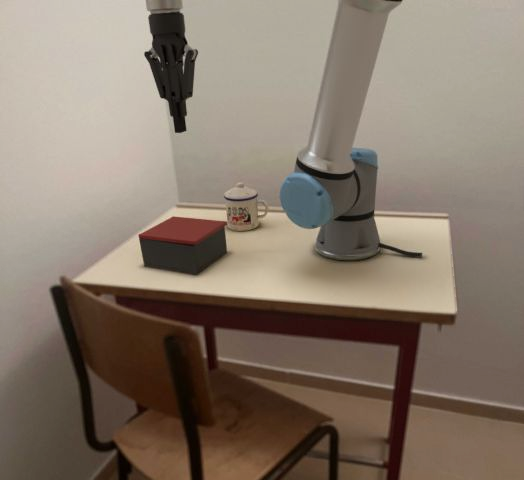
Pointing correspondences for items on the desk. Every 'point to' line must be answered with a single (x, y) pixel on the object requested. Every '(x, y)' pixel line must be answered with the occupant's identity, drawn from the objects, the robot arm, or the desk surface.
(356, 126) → the robot arm
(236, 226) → the teacup with lid
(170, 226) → the red box lid
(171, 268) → the dark grey open box
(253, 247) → the desk surface
